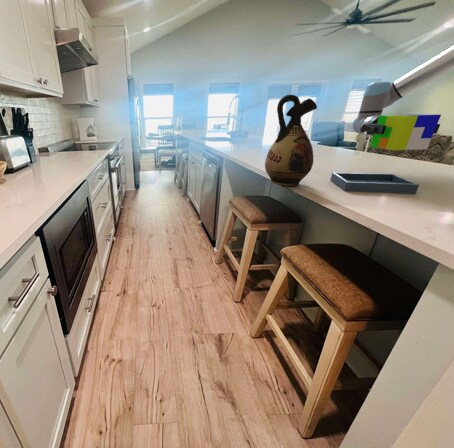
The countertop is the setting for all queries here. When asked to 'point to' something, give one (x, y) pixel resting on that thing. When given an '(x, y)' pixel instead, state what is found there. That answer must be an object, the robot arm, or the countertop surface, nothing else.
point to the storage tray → (374, 183)
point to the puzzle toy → (405, 132)
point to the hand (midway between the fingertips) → (409, 129)
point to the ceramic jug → (290, 145)
